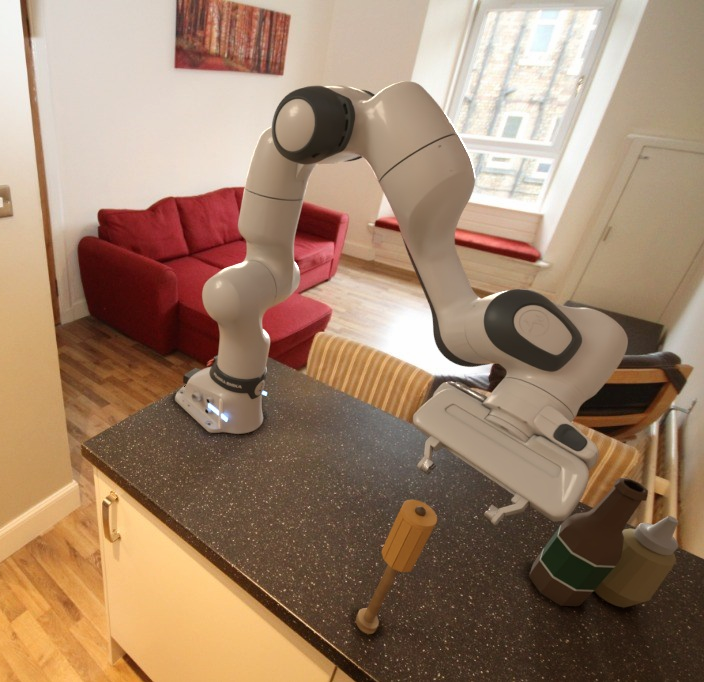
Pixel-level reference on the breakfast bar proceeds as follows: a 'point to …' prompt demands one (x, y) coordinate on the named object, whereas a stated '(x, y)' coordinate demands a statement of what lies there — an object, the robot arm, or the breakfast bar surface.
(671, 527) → the squeeze bottle
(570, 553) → the beer bottle
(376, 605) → the brown wooden rod
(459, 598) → the breakfast bar surface
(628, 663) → the breakfast bar surface
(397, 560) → the cylinder
